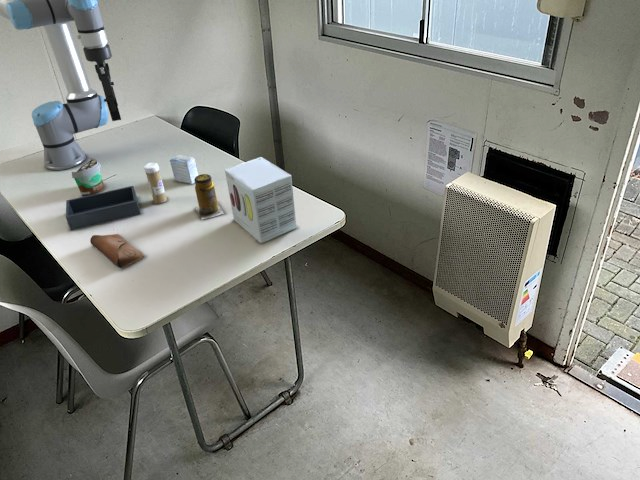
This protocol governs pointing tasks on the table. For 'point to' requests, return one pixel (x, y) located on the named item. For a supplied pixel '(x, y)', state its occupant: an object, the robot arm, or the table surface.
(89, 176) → the food container
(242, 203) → the supplement box
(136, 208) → the dark grey open tray
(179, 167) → the medicine box
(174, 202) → the table surface
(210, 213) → the condiment
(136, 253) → the sunglasses case
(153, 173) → the sprinkles bottle
